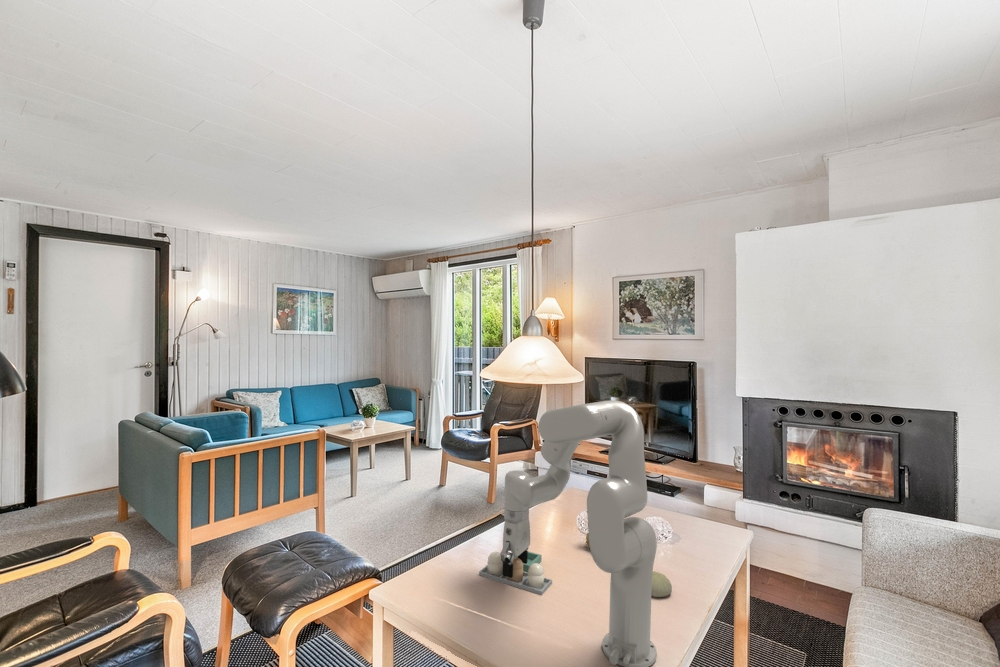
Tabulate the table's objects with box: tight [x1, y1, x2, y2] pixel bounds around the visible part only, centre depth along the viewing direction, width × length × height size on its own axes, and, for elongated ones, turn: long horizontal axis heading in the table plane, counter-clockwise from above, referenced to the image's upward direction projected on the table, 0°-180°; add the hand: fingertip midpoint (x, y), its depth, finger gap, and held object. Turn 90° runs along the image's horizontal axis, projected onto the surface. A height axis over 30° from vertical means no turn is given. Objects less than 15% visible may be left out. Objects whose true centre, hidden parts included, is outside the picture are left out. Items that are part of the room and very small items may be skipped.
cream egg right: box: [527, 563, 545, 590], centre depth 142 cm, size 5×5×6 cm
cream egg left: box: [487, 551, 503, 577], centre depth 149 cm, size 5×5×6 cm
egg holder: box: [507, 550, 543, 573], centre depth 155 cm, size 9×9×3 cm
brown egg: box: [507, 557, 523, 583], centre depth 146 cm, size 5×5×6 cm
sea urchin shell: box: [651, 570, 673, 598], centre depth 142 cm, size 9×8×8 cm
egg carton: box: [478, 564, 553, 596], centre depth 146 cm, size 7×21×2 cm, turn 61°
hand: (515, 569), depth 146 cm, fingers open, 9 cm apart
